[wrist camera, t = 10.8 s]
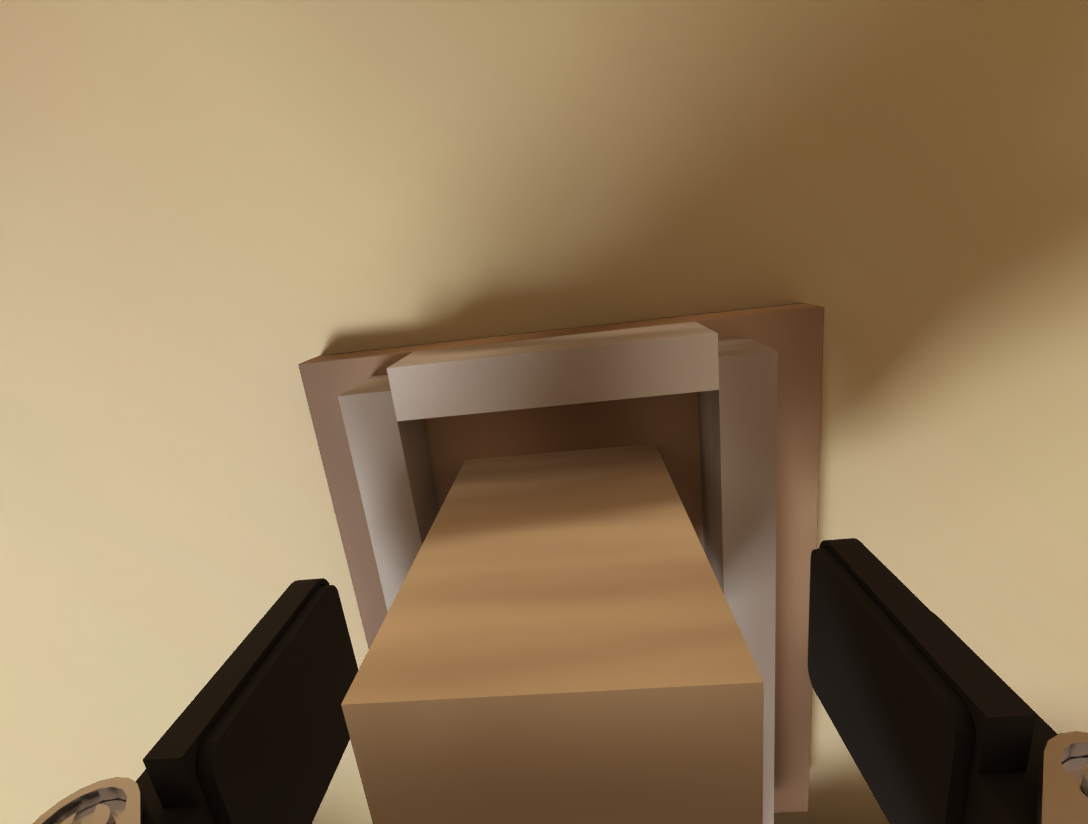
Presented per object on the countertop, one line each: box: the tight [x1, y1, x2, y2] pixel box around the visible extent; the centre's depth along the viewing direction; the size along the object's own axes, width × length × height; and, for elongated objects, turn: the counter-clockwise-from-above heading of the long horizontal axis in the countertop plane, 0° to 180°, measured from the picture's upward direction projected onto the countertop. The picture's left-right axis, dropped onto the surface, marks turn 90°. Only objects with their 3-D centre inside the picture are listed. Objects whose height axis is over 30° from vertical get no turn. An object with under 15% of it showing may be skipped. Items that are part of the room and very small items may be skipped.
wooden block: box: [341, 444, 764, 824], centre depth 11 cm, size 4×5×8 cm
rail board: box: [298, 303, 824, 824], centre depth 13 cm, size 13×16×6 cm
